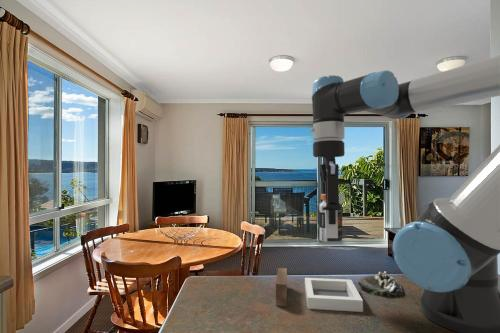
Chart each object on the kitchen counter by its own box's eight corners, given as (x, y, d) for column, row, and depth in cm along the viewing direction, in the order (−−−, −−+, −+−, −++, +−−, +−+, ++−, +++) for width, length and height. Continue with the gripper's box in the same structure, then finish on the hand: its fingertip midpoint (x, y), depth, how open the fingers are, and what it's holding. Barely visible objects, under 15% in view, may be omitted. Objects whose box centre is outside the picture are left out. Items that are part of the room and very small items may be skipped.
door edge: (286, 286, 75) (286, 268, 75) (286, 306, 64) (286, 284, 64) (278, 286, 76) (277, 267, 76) (276, 305, 65) (275, 284, 65)
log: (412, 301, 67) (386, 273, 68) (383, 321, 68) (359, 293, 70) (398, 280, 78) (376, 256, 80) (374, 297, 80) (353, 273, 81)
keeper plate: (351, 289, 73) (351, 279, 73) (363, 311, 61) (362, 300, 61) (304, 287, 75) (304, 277, 75) (307, 308, 63) (307, 297, 63)
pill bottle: (328, 244, 65) (327, 195, 65) (312, 238, 70) (311, 193, 70) (347, 241, 67) (347, 194, 67) (331, 236, 72) (330, 192, 73)
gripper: (310, 144, 79) (311, 226, 78) (316, 136, 60) (317, 244, 60) (337, 144, 78) (338, 227, 77) (352, 135, 59) (354, 245, 59)
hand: (329, 234), depth 69 cm, fingers closed on pill bottle, 6 cm apart
